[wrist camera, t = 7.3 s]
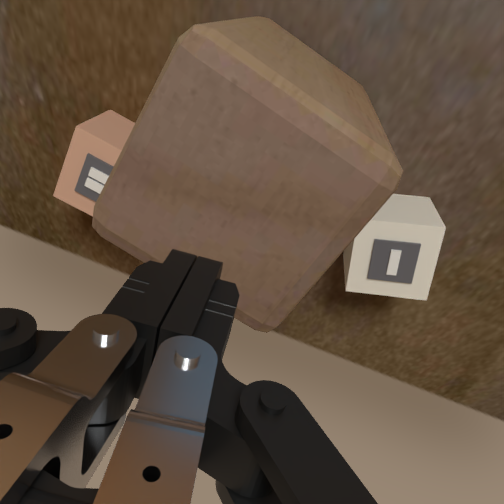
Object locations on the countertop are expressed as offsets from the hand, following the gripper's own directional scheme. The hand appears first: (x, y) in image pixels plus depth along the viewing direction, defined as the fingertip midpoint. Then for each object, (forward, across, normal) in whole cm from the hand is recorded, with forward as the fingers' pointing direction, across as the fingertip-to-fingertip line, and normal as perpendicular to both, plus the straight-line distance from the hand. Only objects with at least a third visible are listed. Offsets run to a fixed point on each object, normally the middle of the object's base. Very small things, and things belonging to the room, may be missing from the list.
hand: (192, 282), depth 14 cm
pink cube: (+26, +11, +7) cm, 29 cm away
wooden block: (+26, 0, 0) cm, 26 cm away
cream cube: (+26, -11, +7) cm, 29 cm away
